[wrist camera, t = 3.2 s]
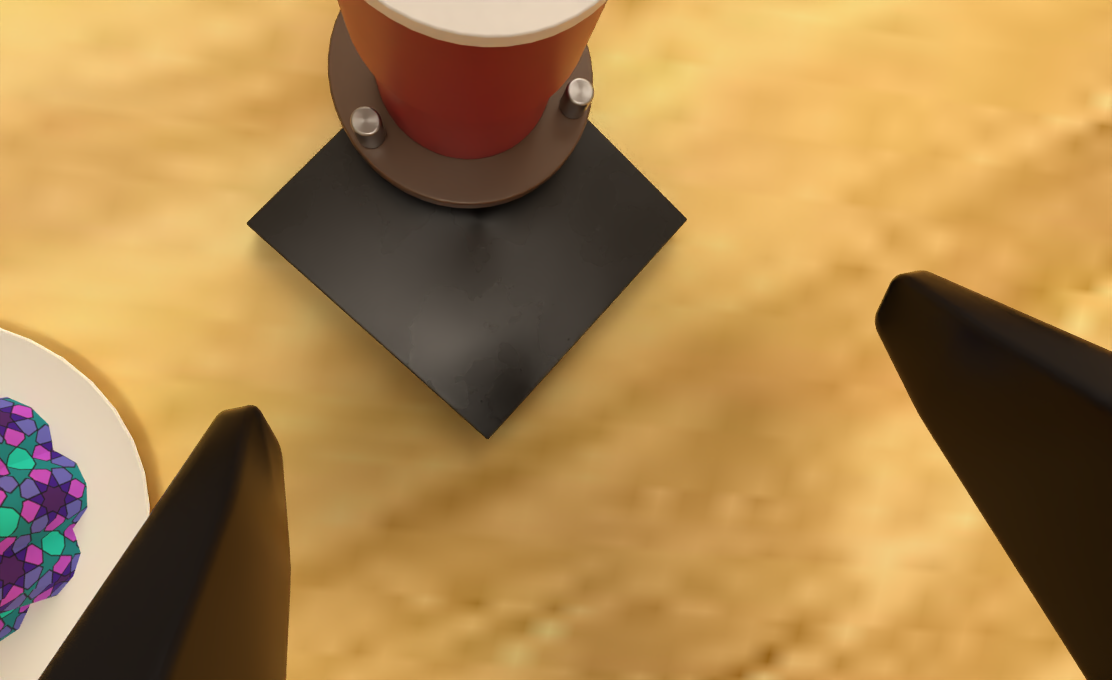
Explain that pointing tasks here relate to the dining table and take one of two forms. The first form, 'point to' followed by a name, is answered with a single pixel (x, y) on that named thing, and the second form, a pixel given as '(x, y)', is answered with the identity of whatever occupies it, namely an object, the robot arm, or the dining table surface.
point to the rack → (468, 239)
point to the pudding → (57, 500)
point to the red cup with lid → (469, 65)
